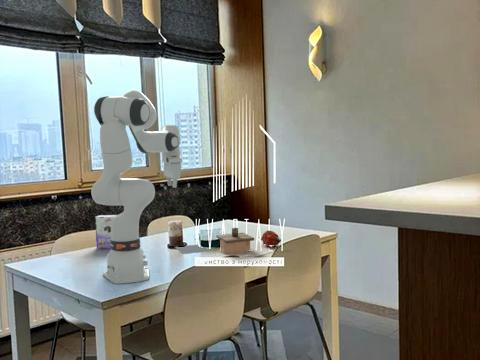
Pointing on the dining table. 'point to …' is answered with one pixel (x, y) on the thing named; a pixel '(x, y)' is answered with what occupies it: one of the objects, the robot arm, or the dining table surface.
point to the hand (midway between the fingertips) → (172, 186)
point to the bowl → (234, 247)
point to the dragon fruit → (270, 238)
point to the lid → (235, 237)
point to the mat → (192, 249)
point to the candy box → (103, 231)
